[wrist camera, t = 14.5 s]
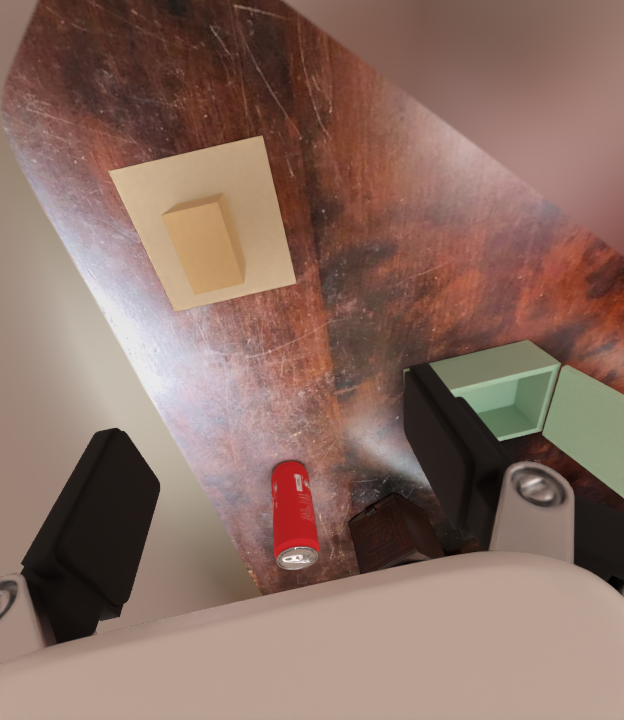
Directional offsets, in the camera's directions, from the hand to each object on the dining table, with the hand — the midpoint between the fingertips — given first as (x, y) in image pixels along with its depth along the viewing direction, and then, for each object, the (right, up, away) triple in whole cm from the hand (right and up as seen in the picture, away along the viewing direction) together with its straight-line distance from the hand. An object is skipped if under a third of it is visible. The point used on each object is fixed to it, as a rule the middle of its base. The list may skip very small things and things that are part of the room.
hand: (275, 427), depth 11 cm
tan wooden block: (-7, +13, +17) cm, 23 cm away
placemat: (-7, +13, +17) cm, 23 cm away
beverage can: (-2, -14, +36) cm, 38 cm away
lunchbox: (+21, -1, +32) cm, 38 cm away
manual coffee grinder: (+12, -26, +47) cm, 55 cm away
